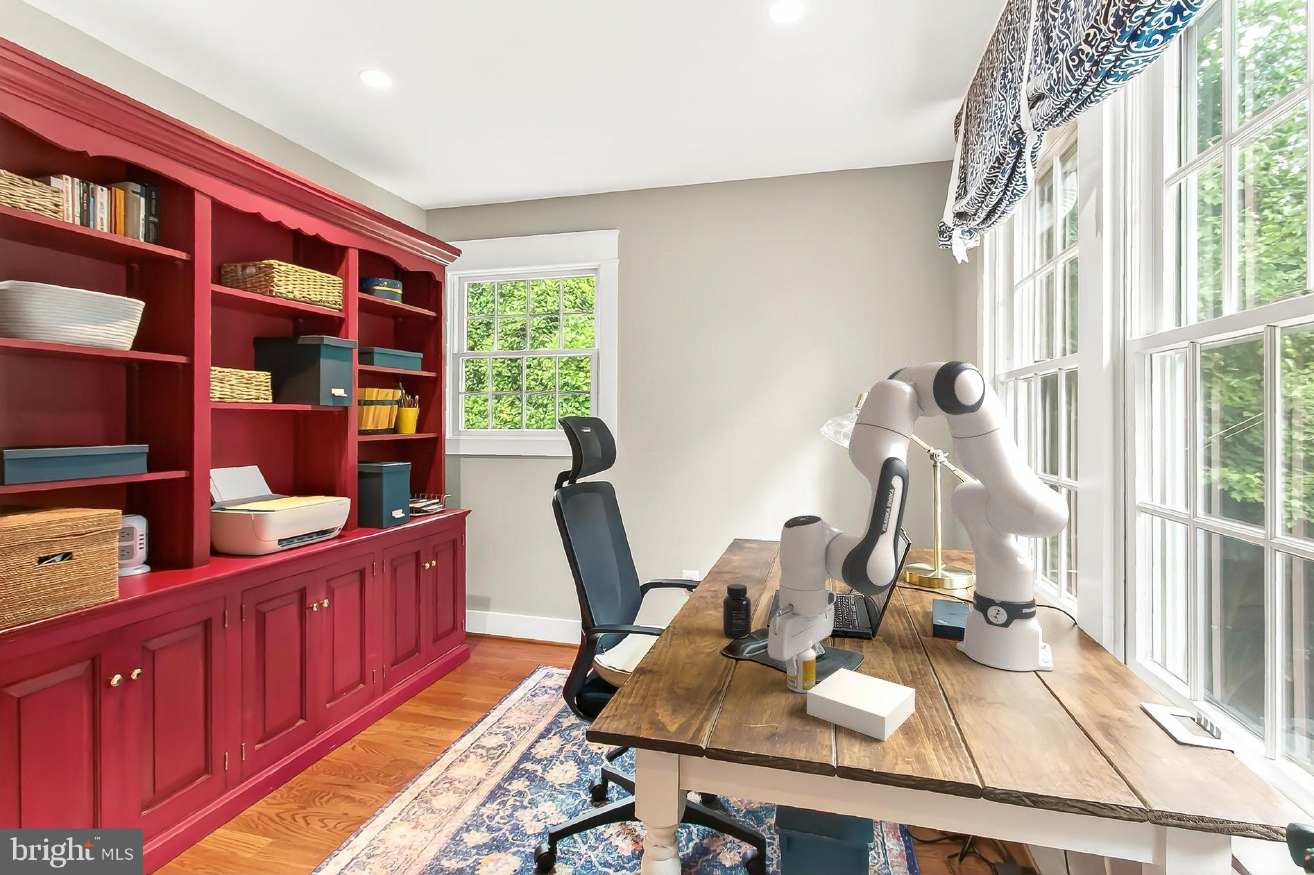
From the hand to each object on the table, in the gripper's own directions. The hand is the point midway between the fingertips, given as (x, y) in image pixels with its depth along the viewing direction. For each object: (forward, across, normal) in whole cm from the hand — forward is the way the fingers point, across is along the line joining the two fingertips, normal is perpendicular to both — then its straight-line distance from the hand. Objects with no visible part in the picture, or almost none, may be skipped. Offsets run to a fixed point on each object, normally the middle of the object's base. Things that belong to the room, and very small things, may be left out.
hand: (801, 669), depth 119 cm
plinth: (+4, -2, -13) cm, 14 cm away
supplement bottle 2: (+4, 0, 0) cm, 4 cm away
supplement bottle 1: (+4, +16, +26) cm, 31 cm away
